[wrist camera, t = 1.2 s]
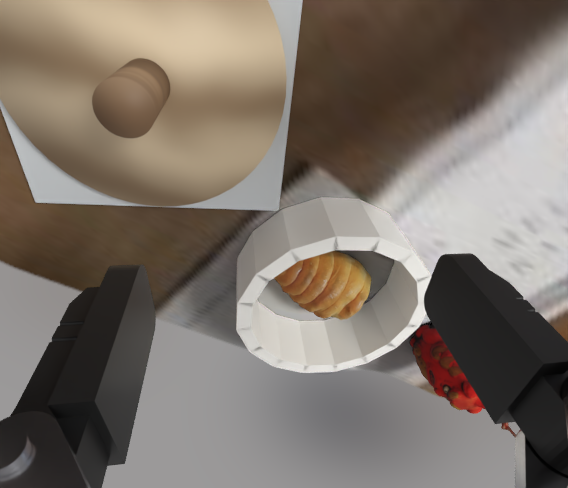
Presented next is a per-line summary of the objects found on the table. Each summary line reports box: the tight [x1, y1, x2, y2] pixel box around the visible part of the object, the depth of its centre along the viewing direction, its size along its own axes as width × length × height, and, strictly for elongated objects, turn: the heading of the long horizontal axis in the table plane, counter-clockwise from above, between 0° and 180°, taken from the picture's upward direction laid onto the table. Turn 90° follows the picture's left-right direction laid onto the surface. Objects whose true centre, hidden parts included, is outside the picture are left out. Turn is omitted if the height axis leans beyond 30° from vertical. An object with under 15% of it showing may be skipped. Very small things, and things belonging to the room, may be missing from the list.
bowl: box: [236, 197, 432, 373], centre depth 31 cm, size 16×16×6 cm
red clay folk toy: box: [410, 324, 516, 438], centre depth 36 cm, size 8×7×15 cm
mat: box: [0, 0, 303, 211], centre depth 21 cm, size 18×18×1 cm
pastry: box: [274, 251, 371, 320], centre depth 32 cm, size 9×7×4 cm
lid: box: [0, 0, 287, 207], centre depth 19 cm, size 17×17×6 cm
